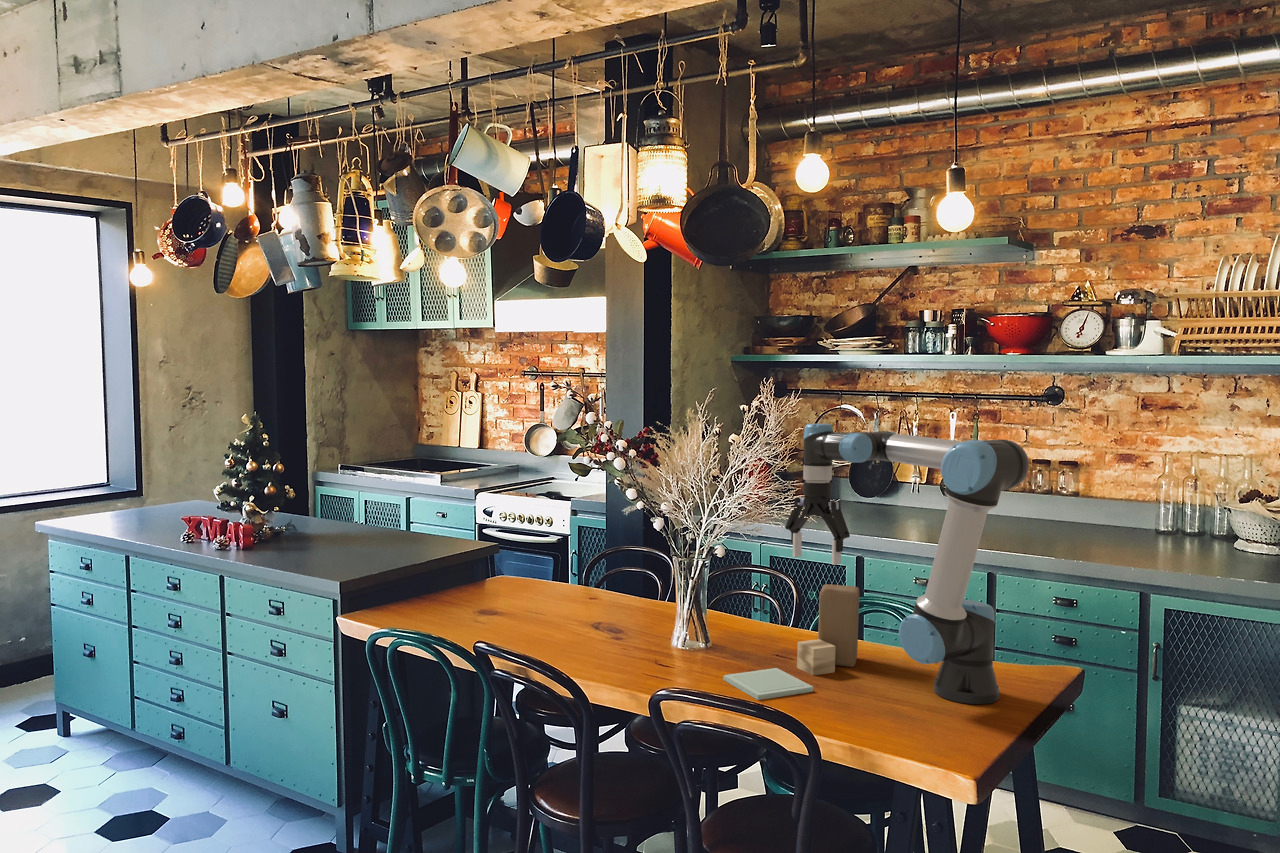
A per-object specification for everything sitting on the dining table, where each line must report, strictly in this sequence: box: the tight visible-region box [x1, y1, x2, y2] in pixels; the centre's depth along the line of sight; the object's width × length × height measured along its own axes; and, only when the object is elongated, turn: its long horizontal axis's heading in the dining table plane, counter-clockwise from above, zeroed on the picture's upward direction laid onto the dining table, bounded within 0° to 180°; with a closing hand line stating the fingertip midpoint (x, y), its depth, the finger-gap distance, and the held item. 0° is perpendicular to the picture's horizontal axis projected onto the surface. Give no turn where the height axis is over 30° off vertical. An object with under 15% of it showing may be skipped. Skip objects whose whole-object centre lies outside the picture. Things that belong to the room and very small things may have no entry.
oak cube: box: [796, 638, 836, 676], centre depth 247 cm, size 7×7×7 cm
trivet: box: [722, 667, 814, 701], centre depth 234 cm, size 16×16×1 cm
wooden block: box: [817, 583, 860, 668], centre depth 255 cm, size 10×10×20 cm
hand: (816, 560), depth 252 cm, fingers open, 13 cm apart
